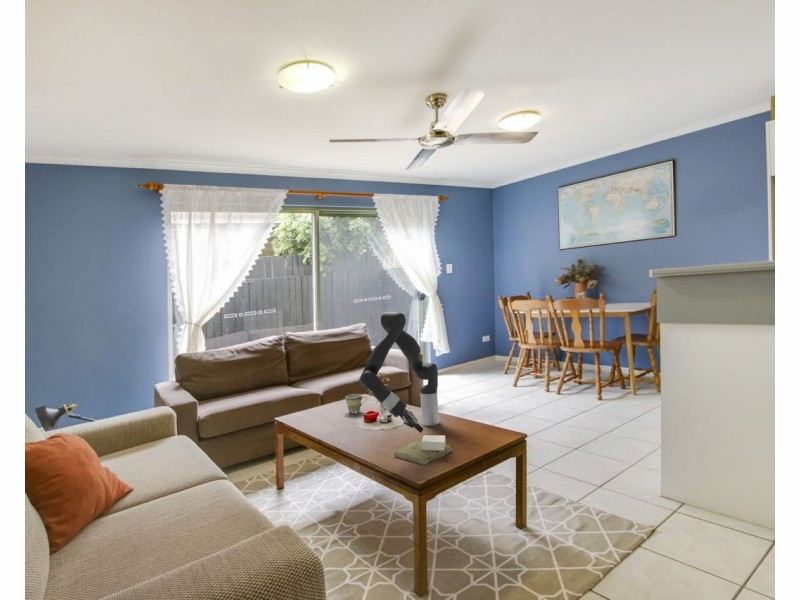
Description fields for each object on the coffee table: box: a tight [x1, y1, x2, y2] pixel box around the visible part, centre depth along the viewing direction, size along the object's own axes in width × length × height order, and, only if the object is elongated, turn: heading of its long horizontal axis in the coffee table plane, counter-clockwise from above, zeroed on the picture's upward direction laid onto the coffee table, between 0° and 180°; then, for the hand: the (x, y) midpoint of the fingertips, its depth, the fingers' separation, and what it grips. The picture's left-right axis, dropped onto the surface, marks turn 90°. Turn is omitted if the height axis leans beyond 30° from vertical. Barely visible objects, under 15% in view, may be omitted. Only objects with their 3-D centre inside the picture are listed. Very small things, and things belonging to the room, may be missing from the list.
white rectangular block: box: [421, 434, 447, 451], centre depth 198 cm, size 8×4×10 cm
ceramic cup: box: [345, 393, 368, 414], centre depth 270 cm, size 13×10×10 cm
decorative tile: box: [393, 438, 452, 466], centre depth 198 cm, size 19×20×4 cm
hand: (422, 430), depth 199 cm, fingers closed
